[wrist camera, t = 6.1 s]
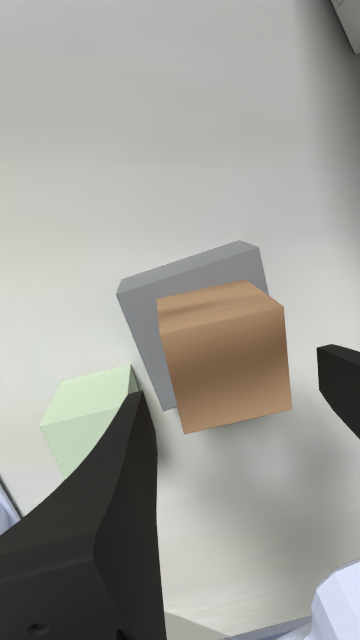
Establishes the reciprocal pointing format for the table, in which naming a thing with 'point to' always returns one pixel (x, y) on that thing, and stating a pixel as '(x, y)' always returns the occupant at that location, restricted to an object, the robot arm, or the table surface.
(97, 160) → the table surface
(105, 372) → the sage cube
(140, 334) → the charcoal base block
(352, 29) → the coffee box
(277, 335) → the walnut cube
